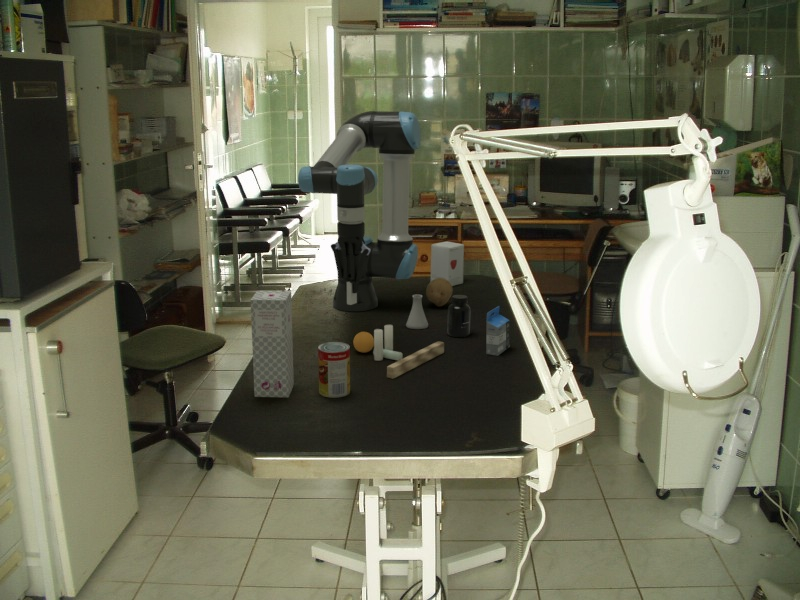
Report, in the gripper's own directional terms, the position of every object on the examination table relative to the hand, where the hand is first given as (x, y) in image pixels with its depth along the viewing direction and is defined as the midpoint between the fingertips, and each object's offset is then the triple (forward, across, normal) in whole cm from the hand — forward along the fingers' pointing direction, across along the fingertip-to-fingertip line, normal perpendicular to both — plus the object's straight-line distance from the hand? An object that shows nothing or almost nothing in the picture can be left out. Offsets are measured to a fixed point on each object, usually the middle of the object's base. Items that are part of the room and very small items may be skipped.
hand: (351, 303), depth 250 cm
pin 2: (+14, +11, +2) cm, 18 cm away
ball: (+11, +4, 0) cm, 12 cm away
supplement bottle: (+14, +18, +30) cm, 38 cm away
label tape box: (+14, +35, +23) cm, 44 cm away
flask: (+14, +3, +30) cm, 33 cm away
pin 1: (+14, +11, -2) cm, 18 cm away
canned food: (+14, +16, -29) cm, 36 cm away
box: (+14, +3, -37) cm, 40 cm away
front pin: (+13, +8, 0) cm, 15 cm away
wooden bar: (+14, +22, 0) cm, 26 cm away
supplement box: (+14, -17, +82) cm, 85 cm away
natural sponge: (+14, -3, +53) cm, 55 cm away
